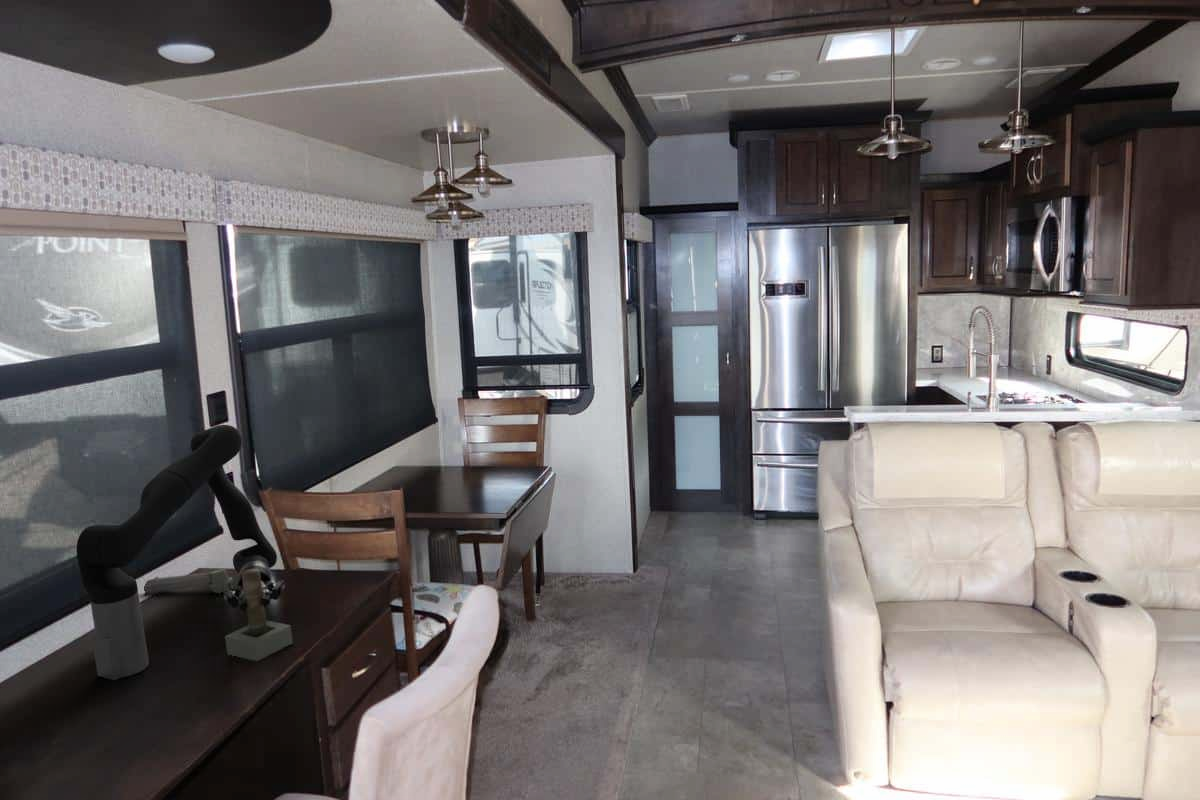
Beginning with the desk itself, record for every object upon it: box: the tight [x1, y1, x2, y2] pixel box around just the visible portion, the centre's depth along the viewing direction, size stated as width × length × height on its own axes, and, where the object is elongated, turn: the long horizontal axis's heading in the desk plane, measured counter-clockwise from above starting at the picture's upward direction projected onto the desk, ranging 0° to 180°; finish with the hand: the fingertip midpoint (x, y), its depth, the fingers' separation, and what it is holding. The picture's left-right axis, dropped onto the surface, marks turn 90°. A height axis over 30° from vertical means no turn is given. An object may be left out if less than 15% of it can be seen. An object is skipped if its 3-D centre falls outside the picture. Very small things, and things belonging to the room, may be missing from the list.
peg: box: [242, 569, 268, 638], centre depth 196 cm, size 4×4×16 cm
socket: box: [224, 619, 294, 661], centre depth 197 cm, size 10×10×4 cm
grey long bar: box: [144, 568, 234, 595], centre depth 237 cm, size 5×7×25 cm
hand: (254, 605), depth 193 cm, fingers closed on peg, 3 cm apart
